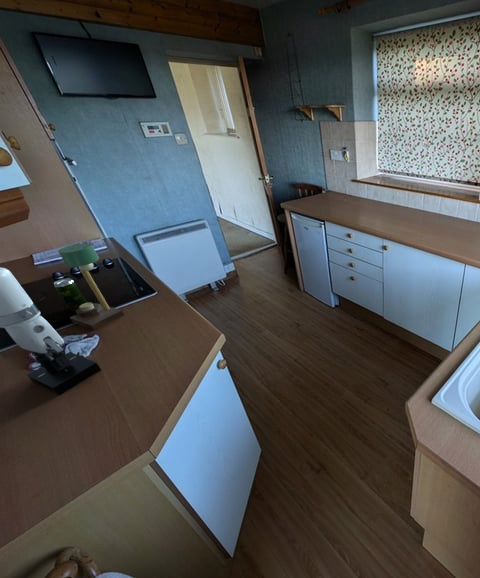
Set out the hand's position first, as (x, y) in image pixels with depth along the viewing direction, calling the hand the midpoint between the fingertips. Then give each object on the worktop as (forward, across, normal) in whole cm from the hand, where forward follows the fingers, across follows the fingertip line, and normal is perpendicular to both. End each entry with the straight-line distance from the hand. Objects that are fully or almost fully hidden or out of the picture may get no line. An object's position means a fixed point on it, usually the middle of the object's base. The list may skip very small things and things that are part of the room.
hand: (57, 365), depth 84 cm
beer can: (+4, +35, -27) cm, 45 cm away
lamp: (0, +12, -25) cm, 27 cm away
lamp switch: (0, +23, -24) cm, 33 cm away
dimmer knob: (0, 0, 0) cm, 0 cm away
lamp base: (+4, +19, -23) cm, 31 cm away
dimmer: (+4, -2, 0) cm, 4 cm away
